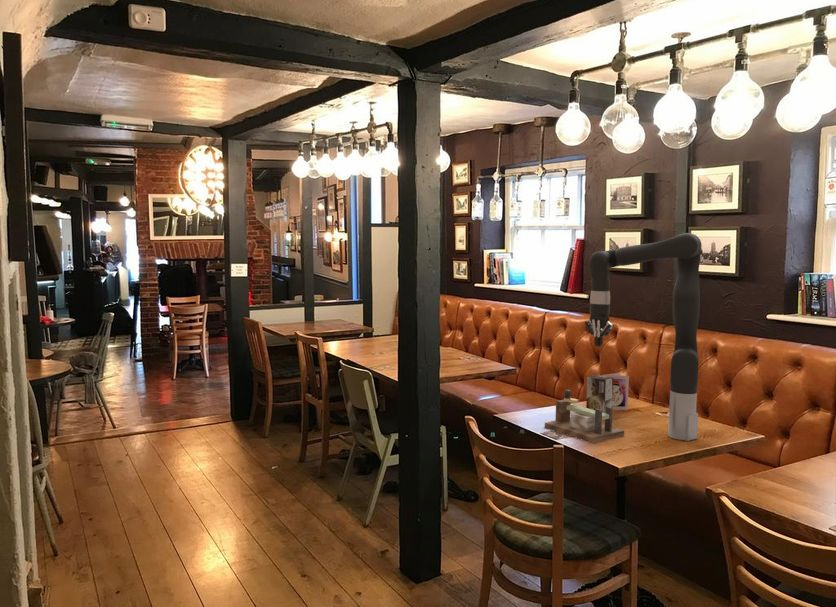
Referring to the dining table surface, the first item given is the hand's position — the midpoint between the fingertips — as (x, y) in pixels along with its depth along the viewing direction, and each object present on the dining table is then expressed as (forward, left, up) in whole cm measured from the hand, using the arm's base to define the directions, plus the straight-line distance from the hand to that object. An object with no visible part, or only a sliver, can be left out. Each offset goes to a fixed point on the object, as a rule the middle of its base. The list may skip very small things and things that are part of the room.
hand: (598, 346), depth 261 cm
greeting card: (+12, -26, -31) cm, 42 cm away
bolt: (+2, +13, -21) cm, 25 cm away
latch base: (-5, +13, -31) cm, 34 cm away
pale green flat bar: (-6, +13, -24) cm, 28 cm away
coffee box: (+8, -12, -31) cm, 34 cm away
